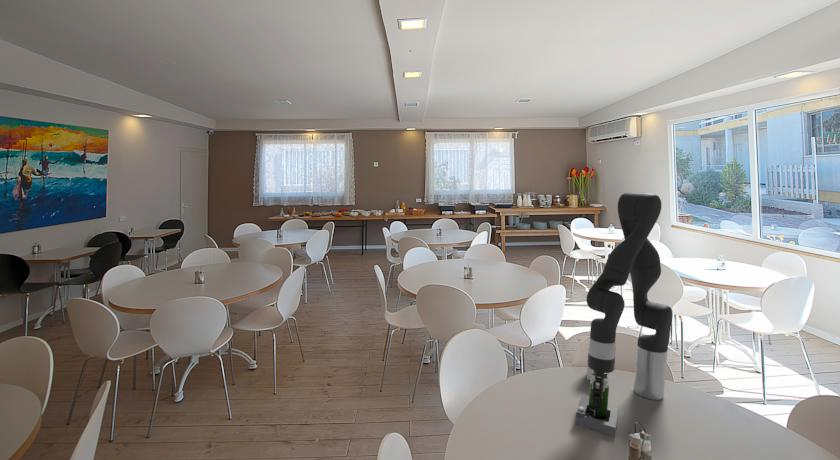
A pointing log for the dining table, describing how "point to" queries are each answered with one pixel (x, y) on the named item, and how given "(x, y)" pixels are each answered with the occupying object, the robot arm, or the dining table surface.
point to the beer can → (603, 413)
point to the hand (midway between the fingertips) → (598, 404)
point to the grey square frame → (594, 423)
